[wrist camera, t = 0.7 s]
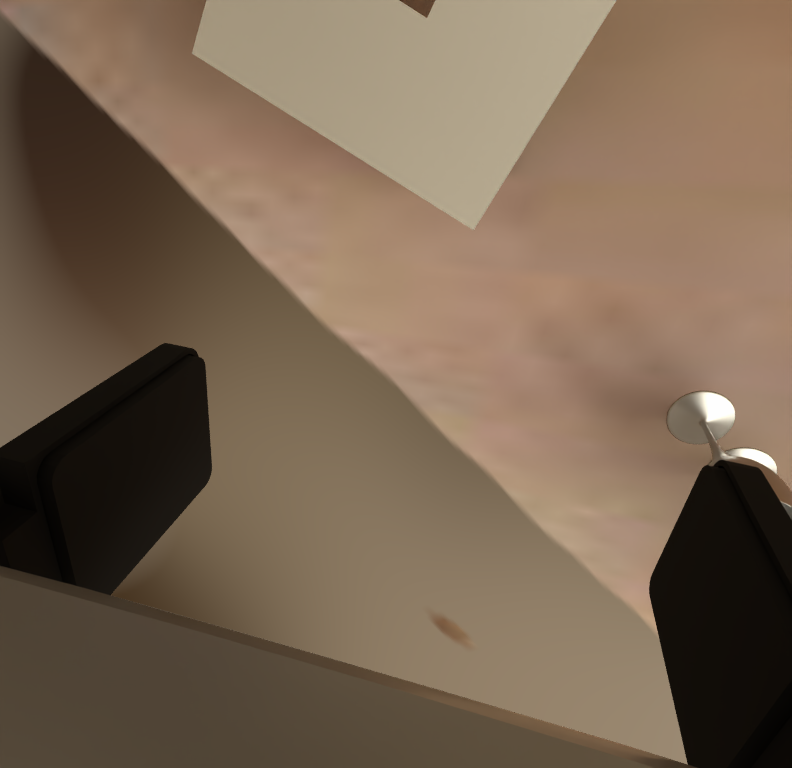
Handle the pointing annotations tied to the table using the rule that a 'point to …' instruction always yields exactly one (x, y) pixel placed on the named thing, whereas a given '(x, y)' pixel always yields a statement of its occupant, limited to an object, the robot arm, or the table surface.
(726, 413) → the goblet set
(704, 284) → the table surface
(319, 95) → the keyhole shelf
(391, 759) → the robot arm
